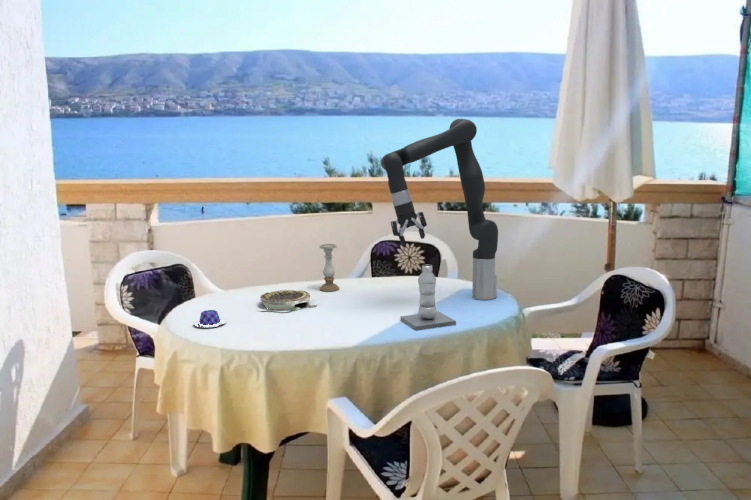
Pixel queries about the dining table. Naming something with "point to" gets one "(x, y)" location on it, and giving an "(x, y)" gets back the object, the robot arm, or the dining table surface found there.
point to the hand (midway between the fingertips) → (413, 241)
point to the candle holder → (328, 269)
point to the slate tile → (427, 321)
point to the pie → (285, 300)
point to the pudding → (209, 317)
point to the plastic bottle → (427, 293)
